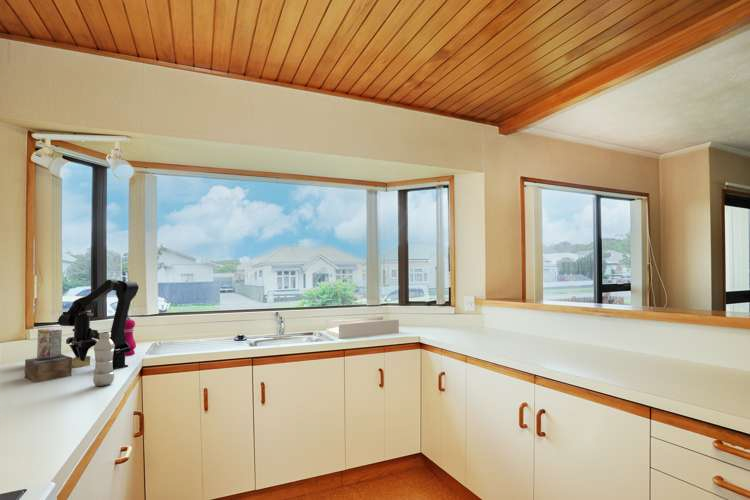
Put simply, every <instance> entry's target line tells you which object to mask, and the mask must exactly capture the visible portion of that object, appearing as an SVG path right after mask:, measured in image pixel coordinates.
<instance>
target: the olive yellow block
mask: <svg viewBox="0 0 750 500" xmlns="http://www.w3.org/2000/svg"><path fill="white" fill-rule="evenodd" d="M87 365H88V366H90V365H91V355H87V354H86V357H85V360H84V361H81V359H80V357H76V356H75V357H72V368H74V369H75V368H76V369H77V368H81V366H82V367H88V366H87Z"/></svg>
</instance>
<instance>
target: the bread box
mask: <svg viewBox="0 0 750 500" xmlns="http://www.w3.org/2000/svg"><path fill="white" fill-rule="evenodd" d="M325 325H326V328H325V330H326V331H325V333H326V335H328V336H331V337H334V338H337V339H351V338H359V337H361V338H362V337H369V336H371V335H372V336H380V334H382V335H389V334H390V335H391V334H392V333H393V334H399V333H400V332H399V331H400V323H399V319H384V316H377V317H376V316H375V317H361V318H359V317H358V318H350V319H349V318H347V319H346V318H345V319H333V320H326V323H325Z"/></svg>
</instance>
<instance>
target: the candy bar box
mask: <svg viewBox="0 0 750 500" xmlns="http://www.w3.org/2000/svg"><path fill="white" fill-rule="evenodd" d="M62 333H63V331H62V329H57V328H51V327H49V328H40V329H37V346H36V347H37V348H36V349H37V352H36V353H37V354H36V358H39V357H46V356H53V355H60V354H62Z"/></svg>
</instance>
